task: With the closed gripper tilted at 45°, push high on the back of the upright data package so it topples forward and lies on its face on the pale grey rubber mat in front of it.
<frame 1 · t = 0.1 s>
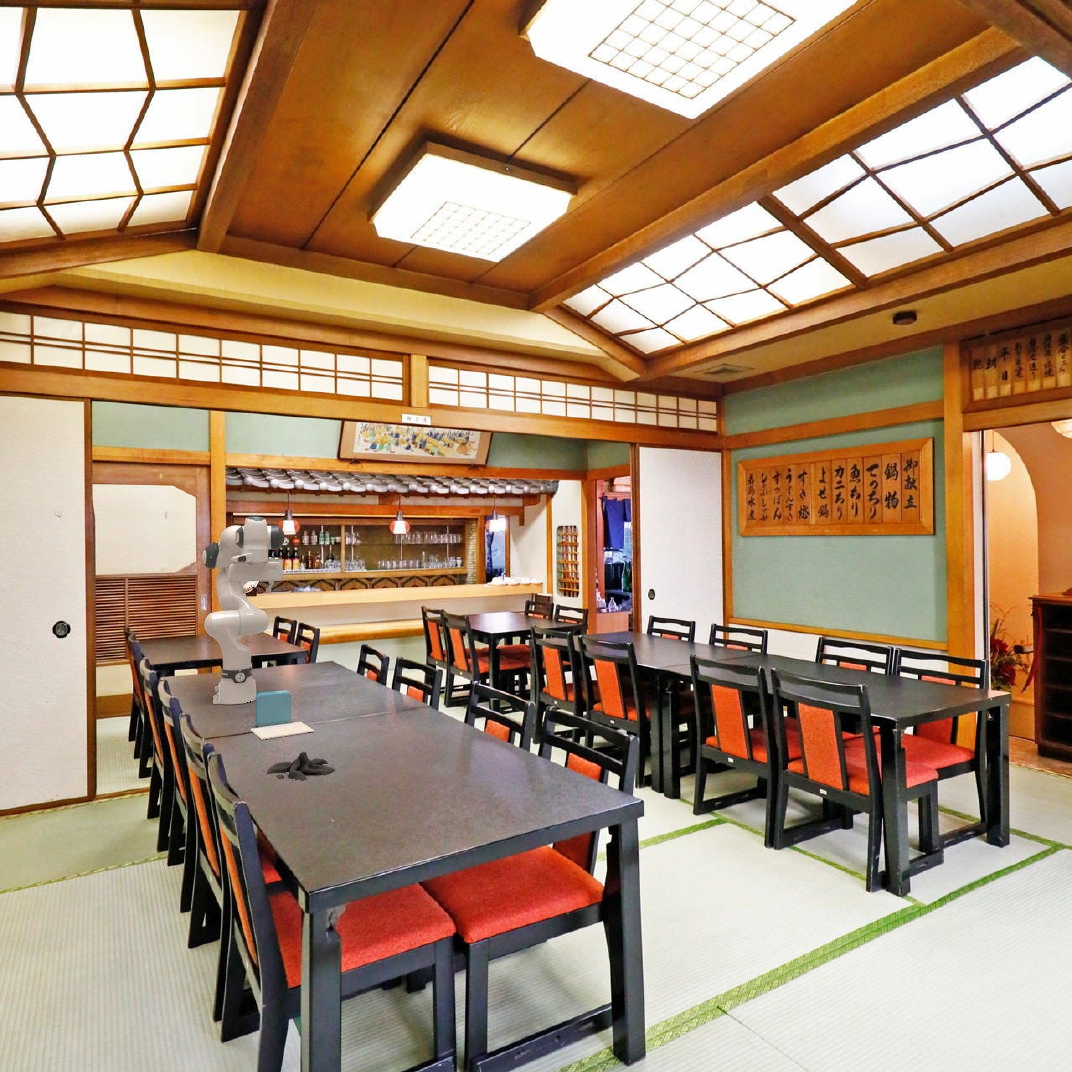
hand: (255, 592, 273), 48 cm above the table, tool pointing down, fingers open, 8 cm apart
pale mat: (282, 731, 248), on the table
cloth: (301, 774, 203), on the table
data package: (273, 725, 257), on the table
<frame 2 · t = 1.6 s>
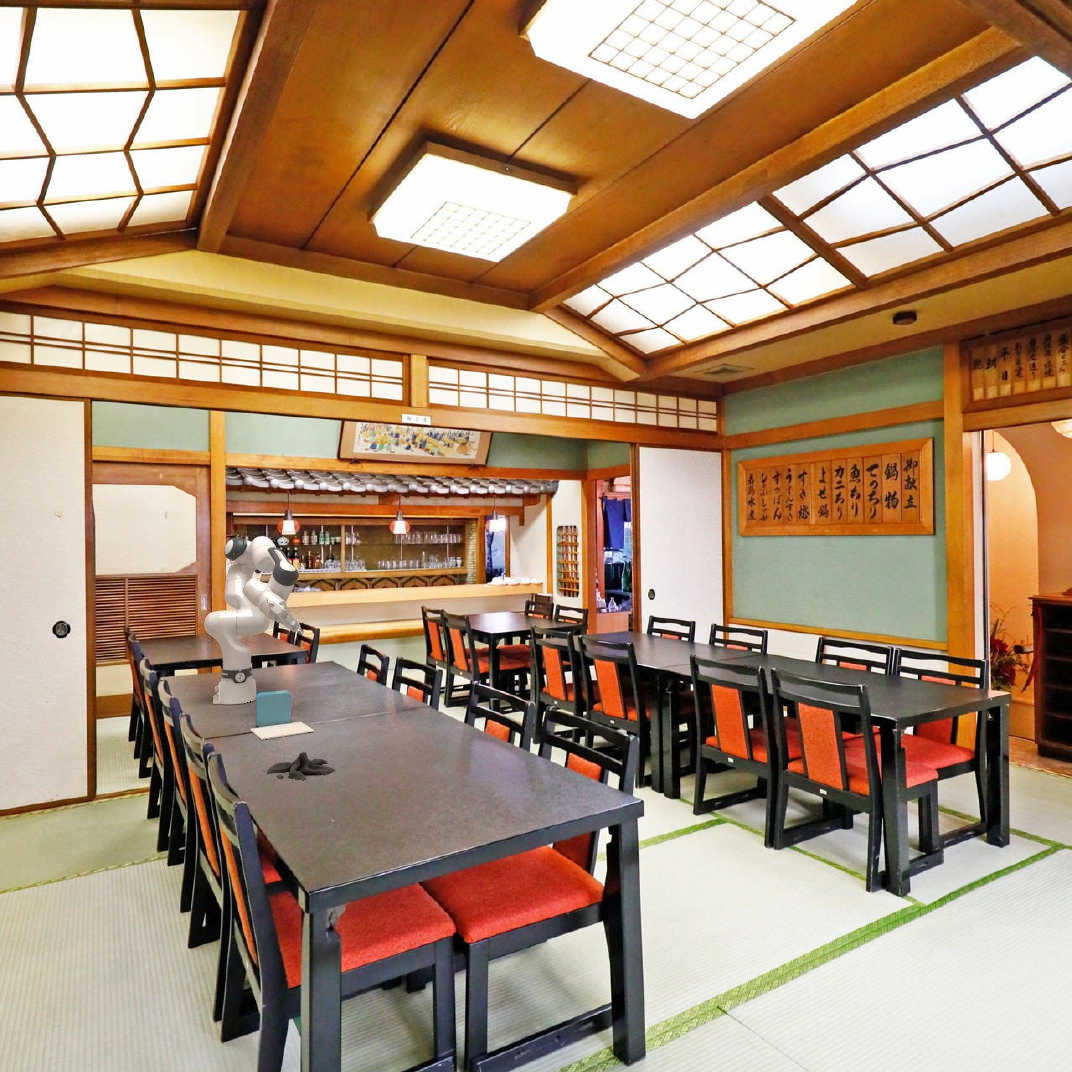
hand: (298, 628, 270), 34 cm above the table, tool tilted 55°, fingers open, 8 cm apart
nothing on the table moved.
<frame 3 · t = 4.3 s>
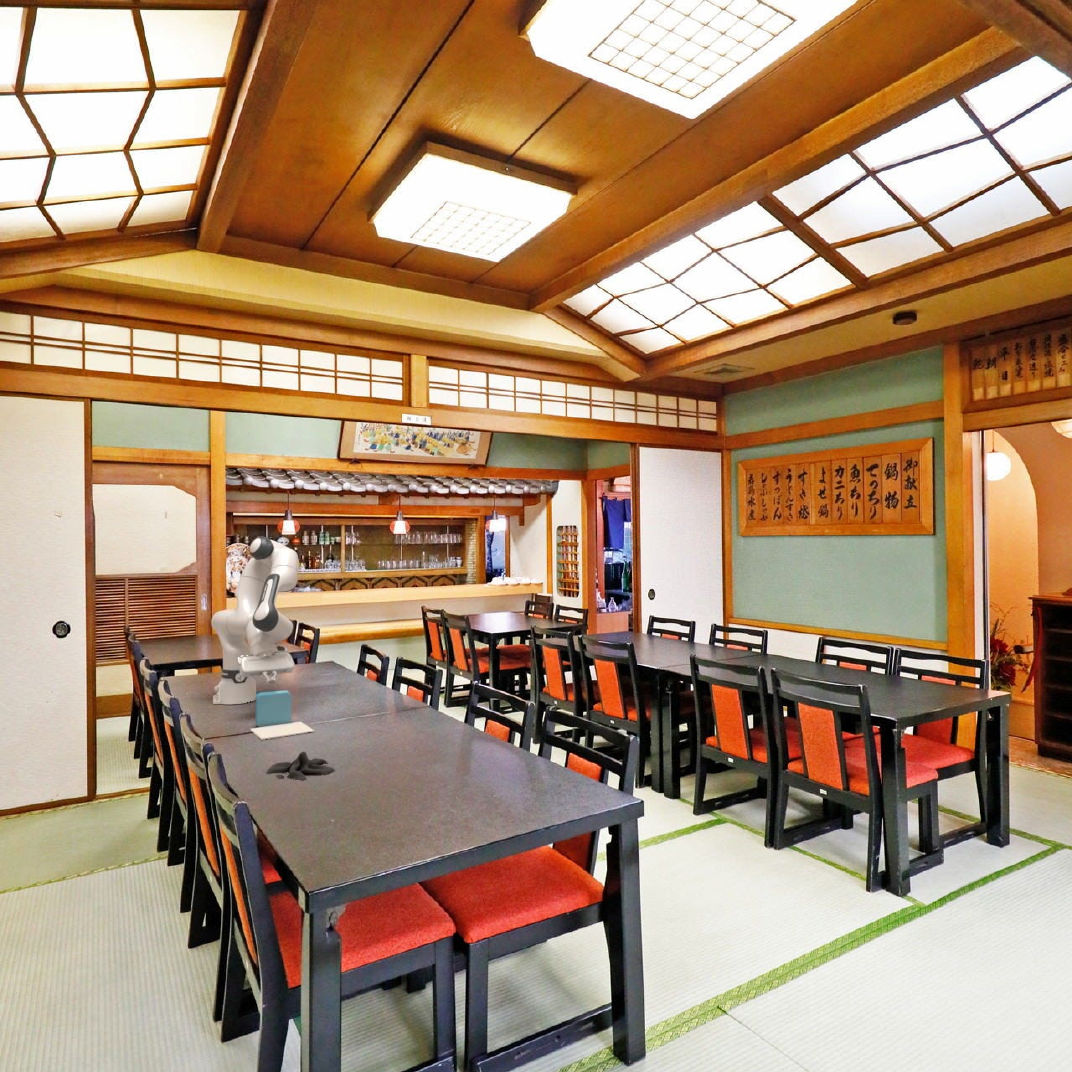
hand: (271, 682, 267), 14 cm above the table, tool tilted 45°, fingers closed
nothing on the table moved.
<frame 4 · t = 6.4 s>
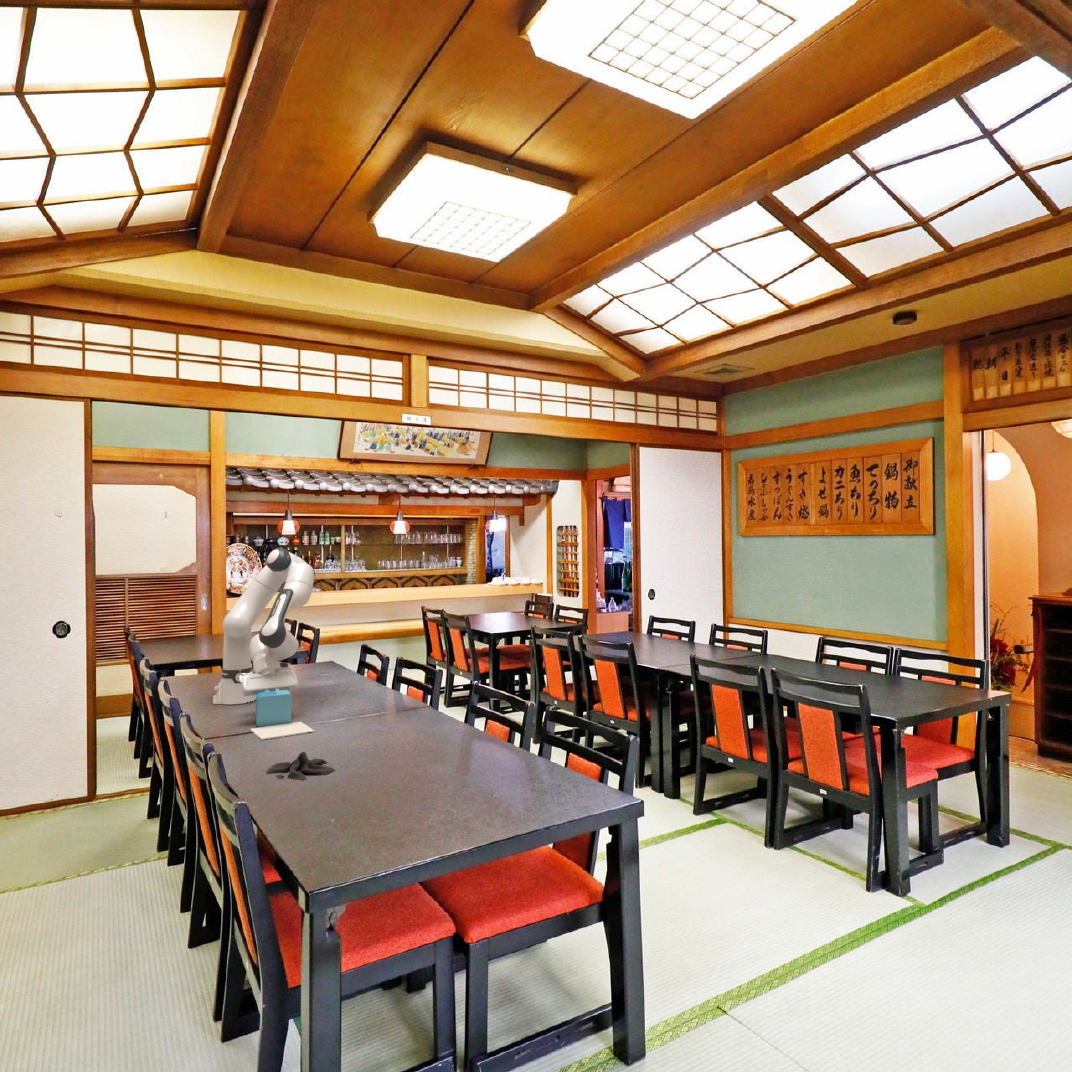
hand: (273, 701, 259), 8 cm above the table, tool tilted 45°, fingers closed
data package: (273, 724, 257), on the table, touching gripper
everything else where it was.
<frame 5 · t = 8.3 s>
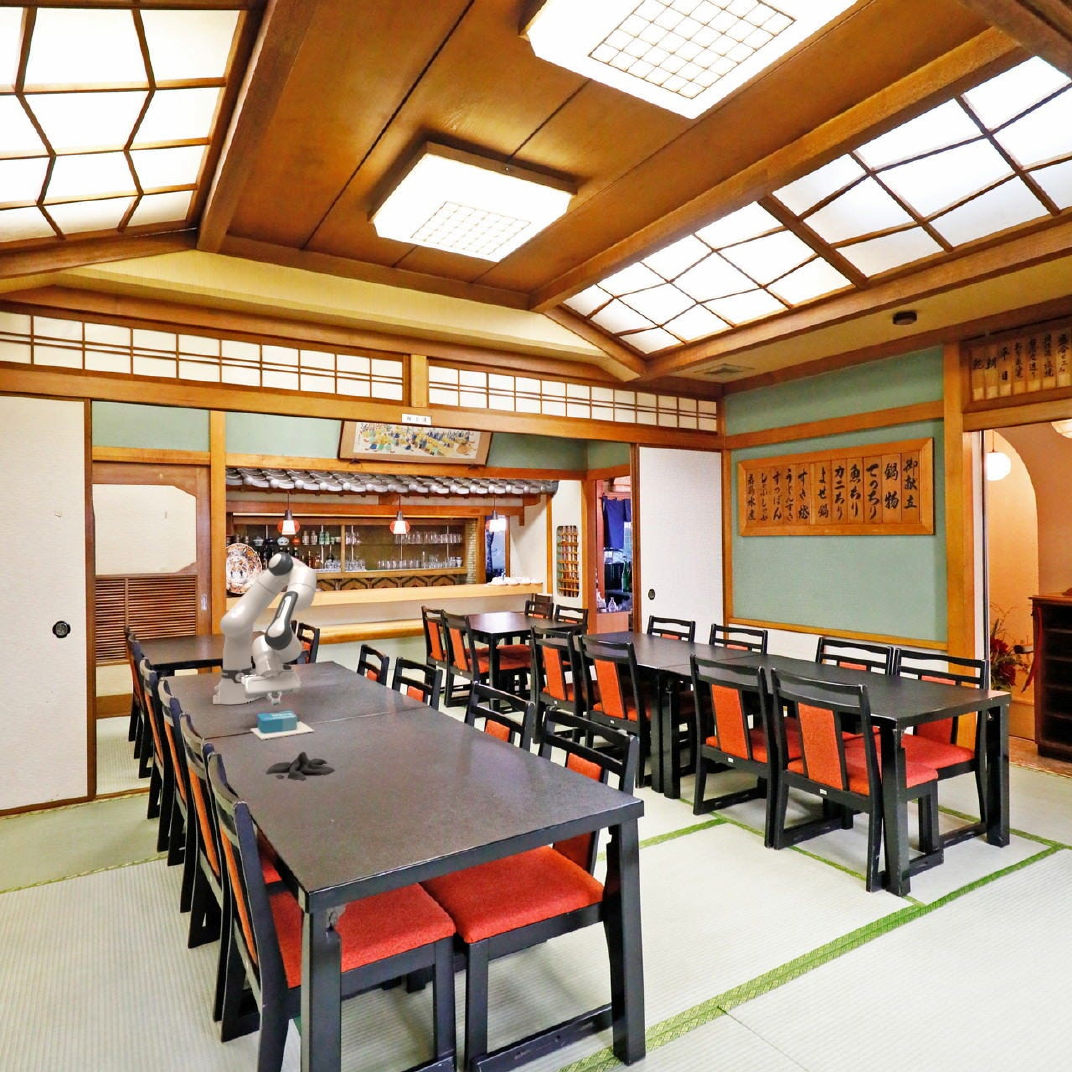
hand: (276, 703, 255), 8 cm above the table, tool tilted 45°, fingers closed
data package: (274, 718, 256), point 3 cm above the table, touching pale mat
everything else where it was.
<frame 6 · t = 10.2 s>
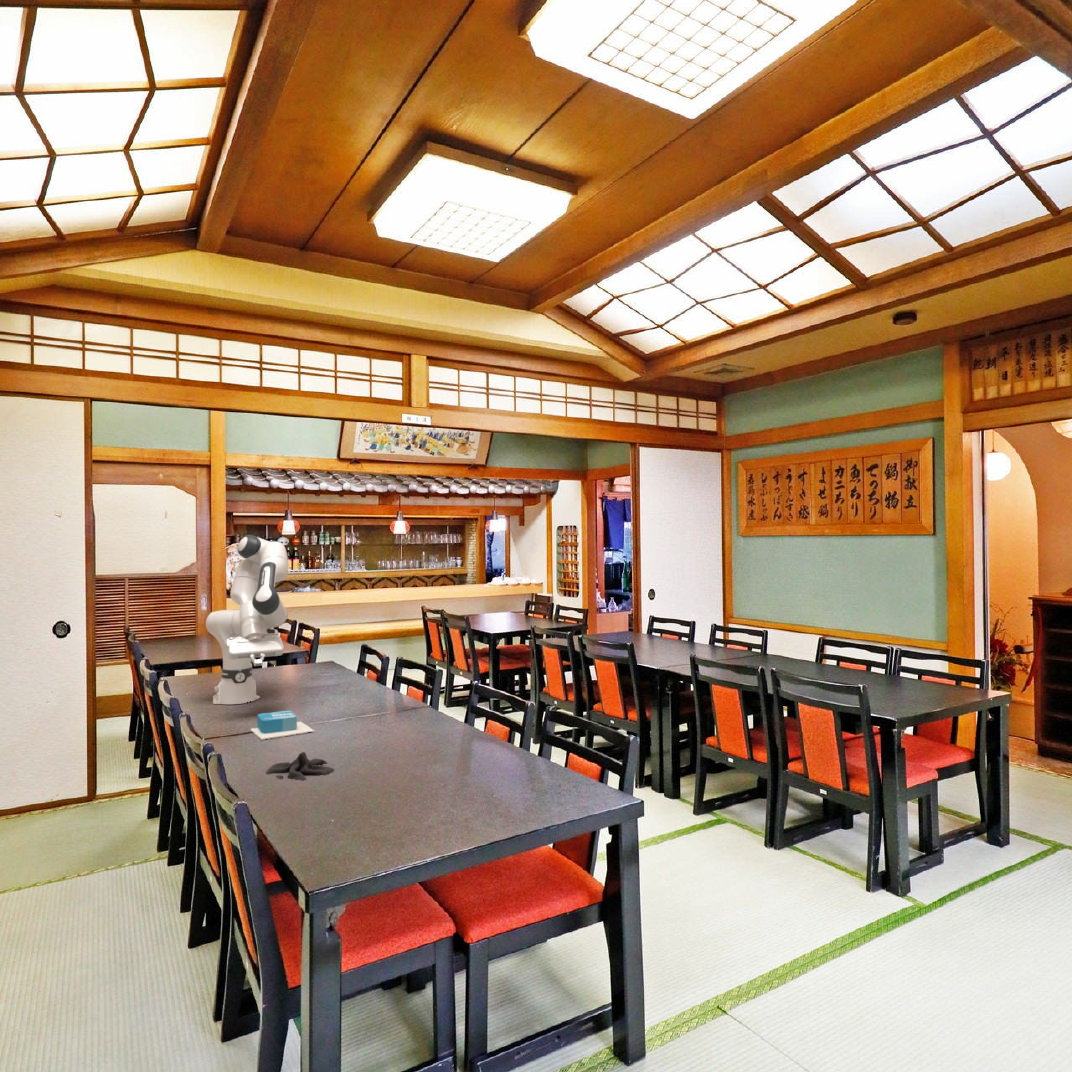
hand: (258, 665, 267), 21 cm above the table, tool tilted 45°, fingers closed
nothing on the table moved.
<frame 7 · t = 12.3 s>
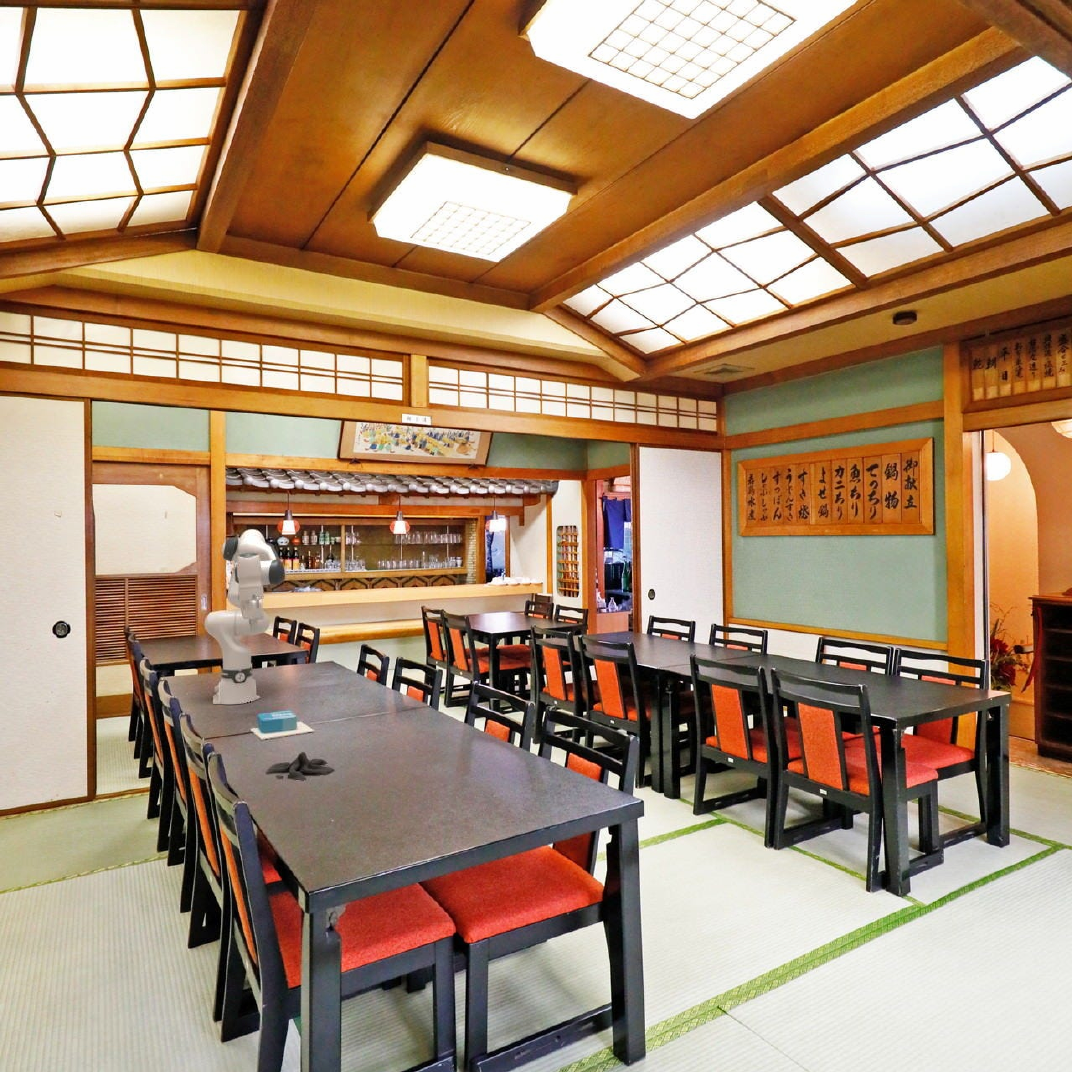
hand: (253, 631, 266), 34 cm above the table, tool pointing down, fingers closed
nothing on the table moved.
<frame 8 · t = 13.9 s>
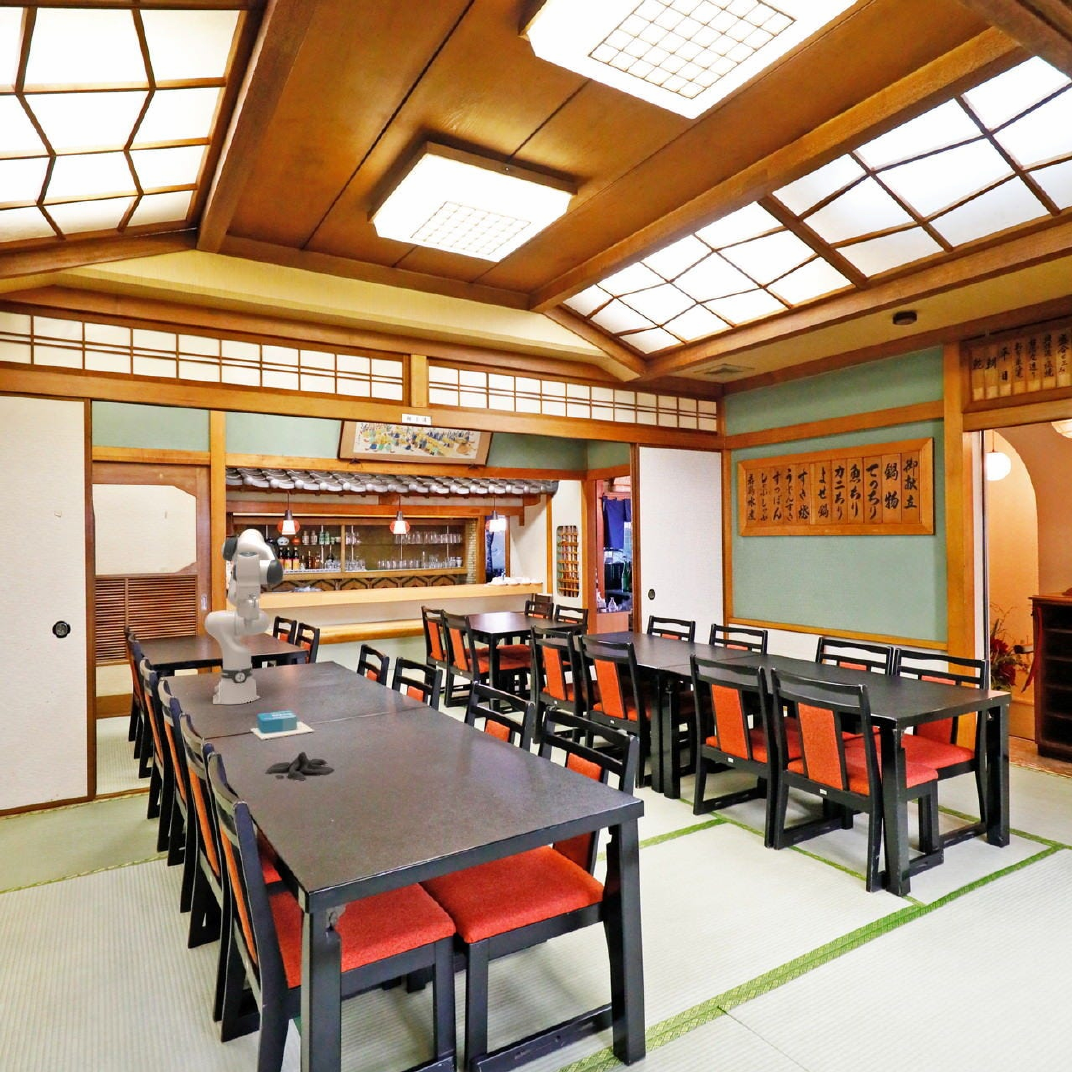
hand: (247, 630, 266), 34 cm above the table, tool pointing down, fingers closed
nothing on the table moved.
at the end: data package tilted 90°; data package inside the target area (4.3 cm from its centre), point 2.9 cm above the table; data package touching pale mat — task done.
